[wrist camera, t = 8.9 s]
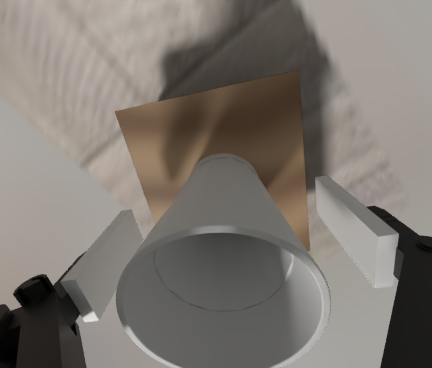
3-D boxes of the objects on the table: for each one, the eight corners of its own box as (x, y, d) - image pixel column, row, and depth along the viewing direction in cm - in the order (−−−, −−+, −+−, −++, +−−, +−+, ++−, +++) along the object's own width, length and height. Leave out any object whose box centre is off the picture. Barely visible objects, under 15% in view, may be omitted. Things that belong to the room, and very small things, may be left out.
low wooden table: (141, 106, 23) (114, 111, 17) (279, 75, 21) (298, 69, 16) (181, 235, 29) (171, 269, 23) (292, 218, 27) (309, 250, 22)
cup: (248, 126, 17) (291, 186, 6) (282, 209, 20) (353, 353, 9) (161, 166, 19) (70, 272, 8) (202, 238, 22) (179, 393, 10)
